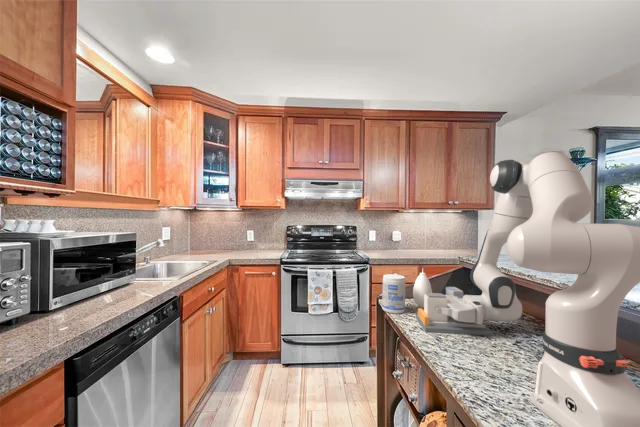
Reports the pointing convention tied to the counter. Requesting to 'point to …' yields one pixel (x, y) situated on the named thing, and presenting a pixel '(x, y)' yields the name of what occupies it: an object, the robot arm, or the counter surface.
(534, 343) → the counter surface
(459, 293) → the medicine box
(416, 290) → the white bulb air blower
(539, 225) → the robot arm
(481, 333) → the rail board
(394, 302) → the supplement tub
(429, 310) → the block
